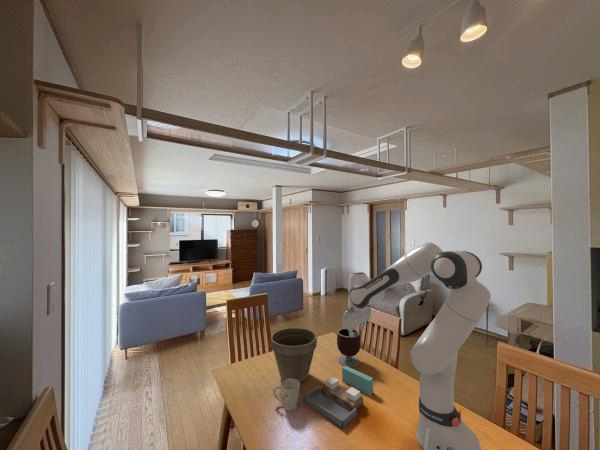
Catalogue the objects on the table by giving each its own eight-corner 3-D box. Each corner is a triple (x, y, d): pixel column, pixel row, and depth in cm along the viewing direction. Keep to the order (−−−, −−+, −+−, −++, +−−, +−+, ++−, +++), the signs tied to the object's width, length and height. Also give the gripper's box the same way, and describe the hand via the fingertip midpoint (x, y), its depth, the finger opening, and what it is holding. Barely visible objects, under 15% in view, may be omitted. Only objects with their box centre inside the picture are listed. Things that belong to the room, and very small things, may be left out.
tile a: (360, 397, 112) (360, 391, 112) (354, 402, 109) (354, 396, 109) (351, 392, 116) (351, 386, 116) (346, 397, 112) (345, 391, 112)
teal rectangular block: (373, 392, 121) (373, 378, 121) (370, 395, 119) (369, 380, 119) (345, 378, 132) (345, 365, 132) (342, 381, 130) (342, 367, 130)
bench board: (363, 404, 113) (363, 396, 113) (353, 413, 107) (353, 405, 107) (331, 386, 126) (331, 379, 126) (321, 394, 120) (321, 386, 120)
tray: (356, 416, 106) (356, 408, 106) (342, 429, 99) (342, 421, 99) (318, 392, 121) (318, 386, 121) (304, 402, 114) (304, 395, 114)
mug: (298, 414, 107) (297, 390, 107) (270, 410, 110) (269, 387, 110) (301, 401, 115) (301, 379, 115) (275, 397, 118) (275, 376, 118)
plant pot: (295, 359, 153) (294, 323, 153) (327, 375, 135) (326, 335, 135) (261, 376, 135) (261, 336, 135) (293, 398, 117) (292, 351, 118)
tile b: (338, 385, 121) (338, 380, 121) (332, 389, 118) (332, 384, 118) (331, 381, 124) (331, 376, 124) (325, 385, 121) (325, 380, 121)
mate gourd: (332, 360, 150) (331, 327, 150) (347, 353, 159) (346, 321, 159) (353, 371, 138) (352, 335, 139) (368, 362, 147) (367, 328, 148)
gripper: (350, 311, 114) (350, 342, 114) (373, 302, 128) (373, 328, 129) (339, 308, 119) (339, 337, 119) (362, 299, 133) (362, 325, 133)
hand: (357, 332), depth 124 cm, fingers open, 8 cm apart
